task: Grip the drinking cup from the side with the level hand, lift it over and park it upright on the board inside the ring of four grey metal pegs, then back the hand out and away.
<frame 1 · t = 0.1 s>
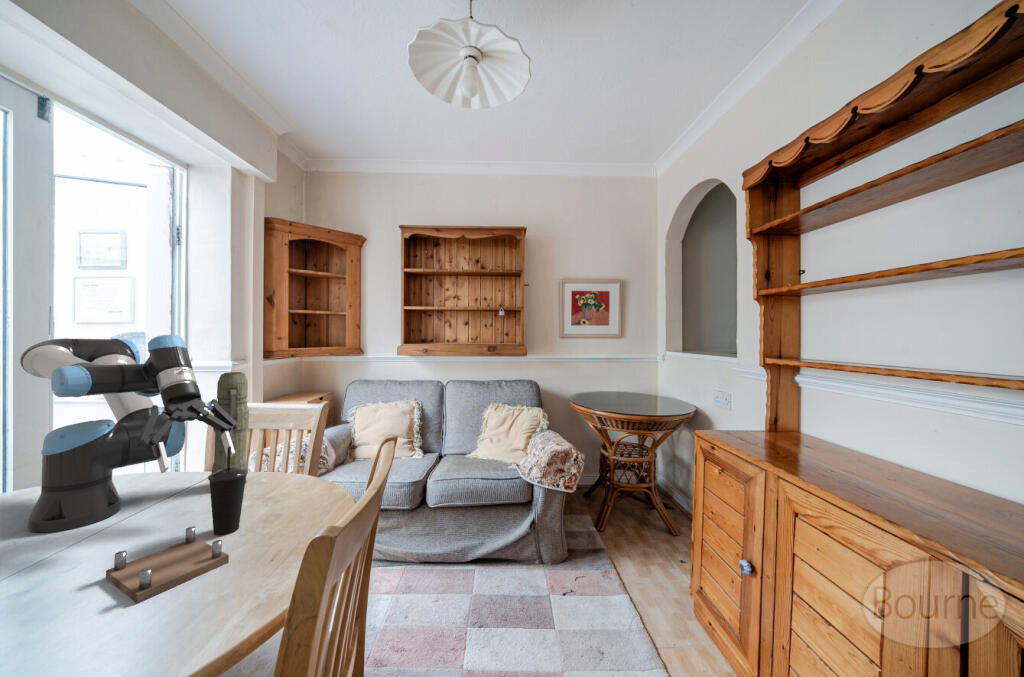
hand: (200, 462, 93), 15 cm above the table, tool tilted 35°, fingers open, 13 cm apart
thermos: (229, 485, 117), on the table
drinking cup: (226, 531, 90), on the table
peg board: (169, 570, 74), on the table
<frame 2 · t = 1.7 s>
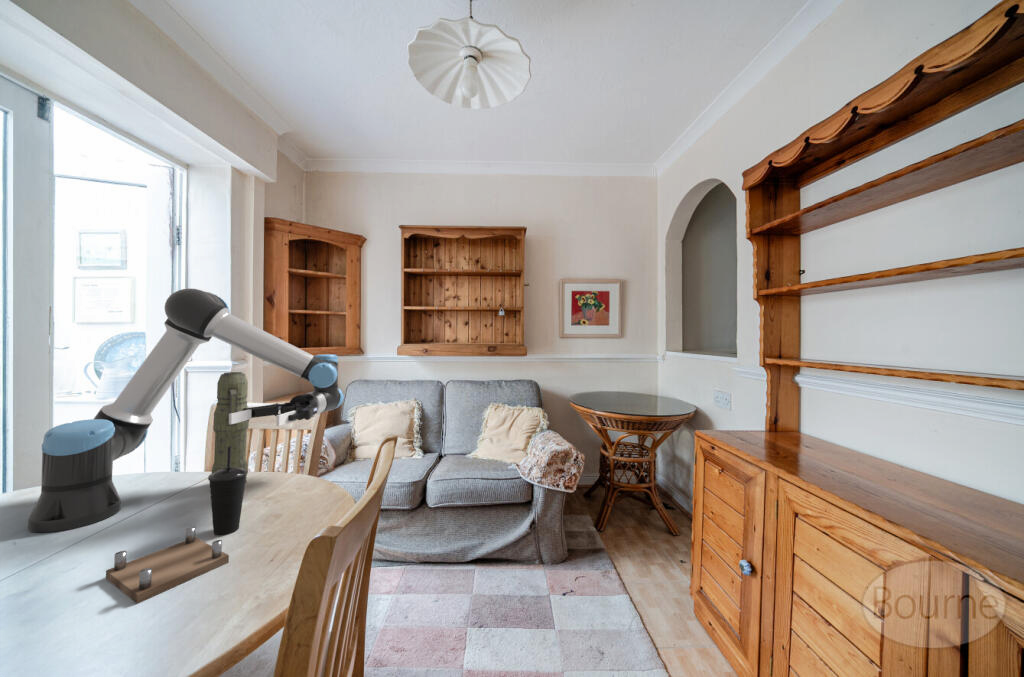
hand: (253, 420, 98), 25 cm above the table, tool horizontal, fingers open, 13 cm apart
nothing on the table moved.
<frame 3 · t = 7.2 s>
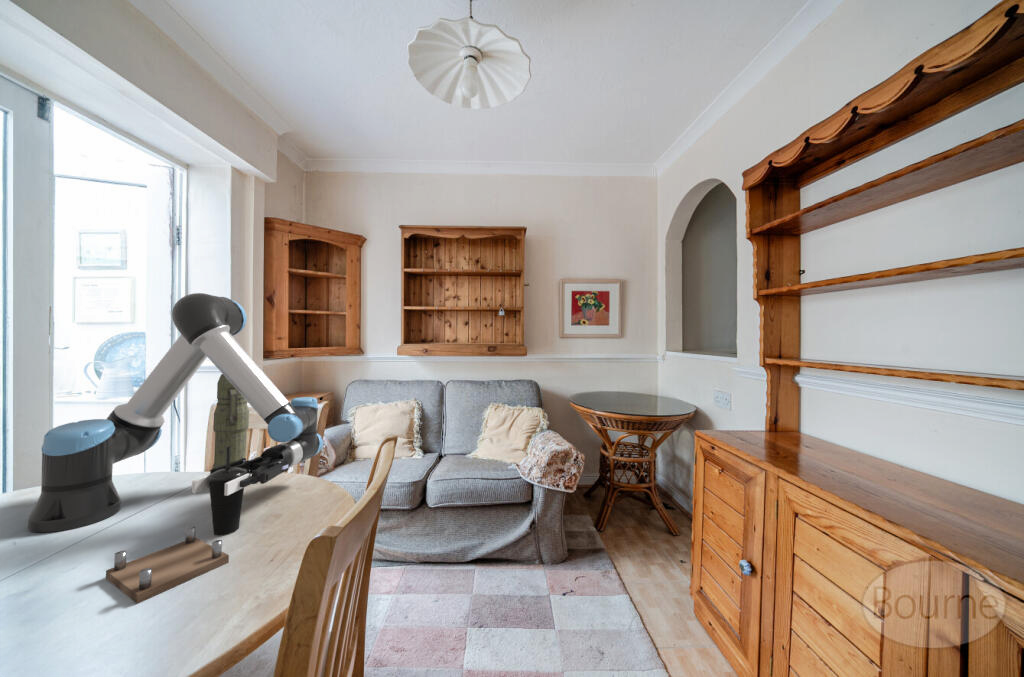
hand: (209, 488, 85), 12 cm above the table, tool horizontal, fingers closed on drinking cup, 7 cm apart
drinking cup: (226, 531, 90), on the table, touching gripper
everything else where it was.
when the fingers open (14 cm above the table, at t = 13.4 s): drinking cup stays where it is, resting on peg board.
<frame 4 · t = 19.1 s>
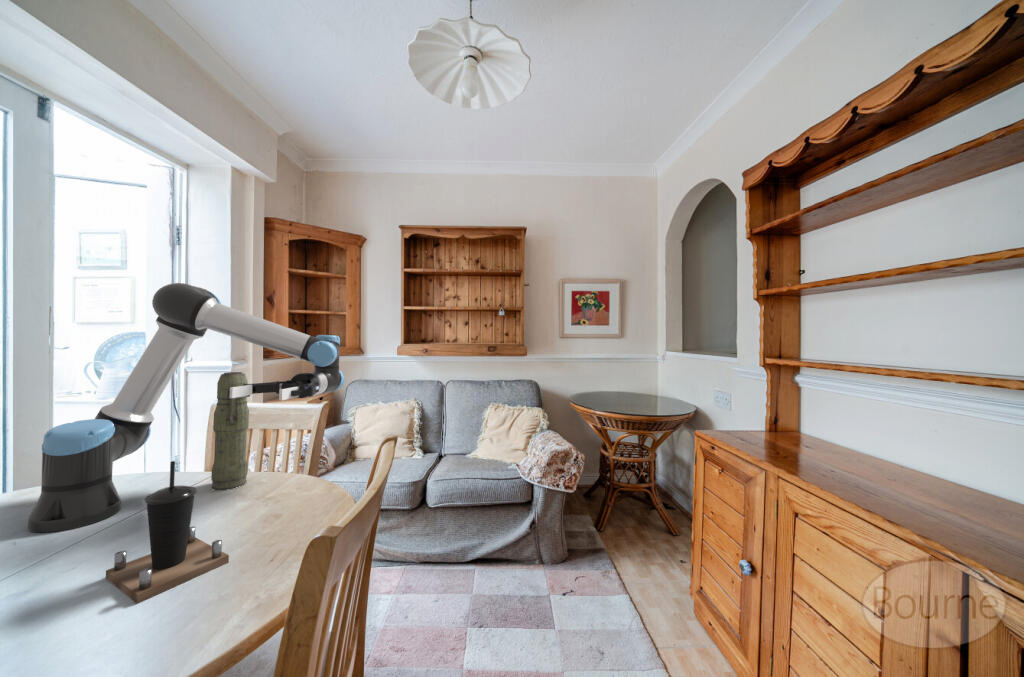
hand: (255, 394, 96), 32 cm above the table, tool horizontal, fingers open, 13 cm apart
drinking cup: (169, 563, 74), point 1 cm above the table, touching peg board
everything else where it was.
at the end: drinking cup 0.1 cm off-centre on the peg board, point 1.3 cm above the peg board's base; drinking cup tilted 0°; the gripper is holding nothing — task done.
